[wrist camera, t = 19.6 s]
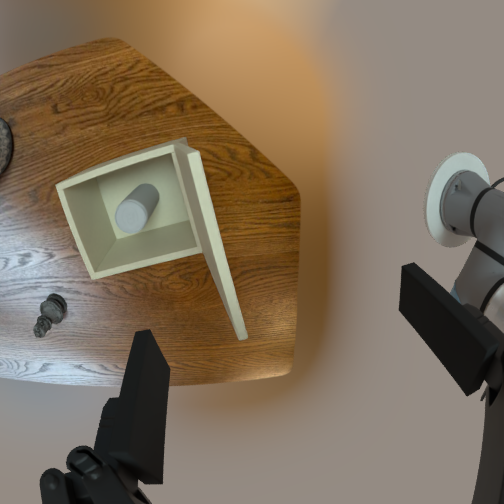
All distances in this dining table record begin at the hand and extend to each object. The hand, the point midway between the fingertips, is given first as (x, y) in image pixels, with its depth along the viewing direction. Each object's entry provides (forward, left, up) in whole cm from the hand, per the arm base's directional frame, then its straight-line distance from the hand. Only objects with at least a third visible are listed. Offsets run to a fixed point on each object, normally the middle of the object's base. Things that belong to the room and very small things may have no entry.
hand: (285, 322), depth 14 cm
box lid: (+5, 0, -17) cm, 18 cm away
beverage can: (+15, 0, -40) cm, 43 cm away
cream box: (+15, 0, -41) cm, 44 cm away
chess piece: (+44, +17, -41) cm, 63 cm away
